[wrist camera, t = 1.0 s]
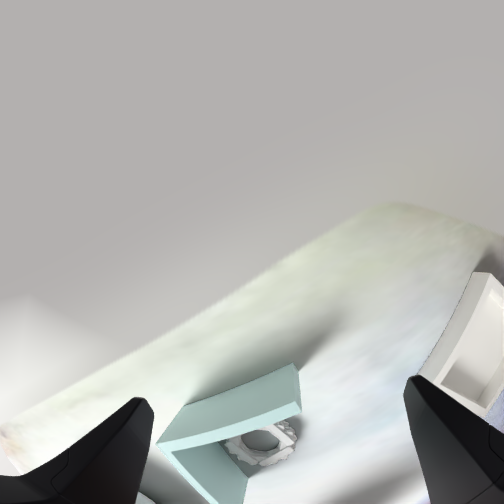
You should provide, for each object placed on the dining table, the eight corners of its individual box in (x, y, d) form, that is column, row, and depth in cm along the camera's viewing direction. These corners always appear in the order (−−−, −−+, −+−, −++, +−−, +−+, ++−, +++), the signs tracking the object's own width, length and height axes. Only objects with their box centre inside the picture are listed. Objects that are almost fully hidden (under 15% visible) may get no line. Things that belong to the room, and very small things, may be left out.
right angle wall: (242, 477, 23) (231, 521, 16) (184, 403, 24) (155, 443, 17) (341, 444, 22) (352, 491, 15) (292, 360, 23) (295, 401, 16)
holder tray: (471, 407, 20) (483, 418, 17) (414, 377, 21) (427, 390, 18) (520, 320, 19) (535, 324, 16) (472, 271, 20) (490, 273, 17)
